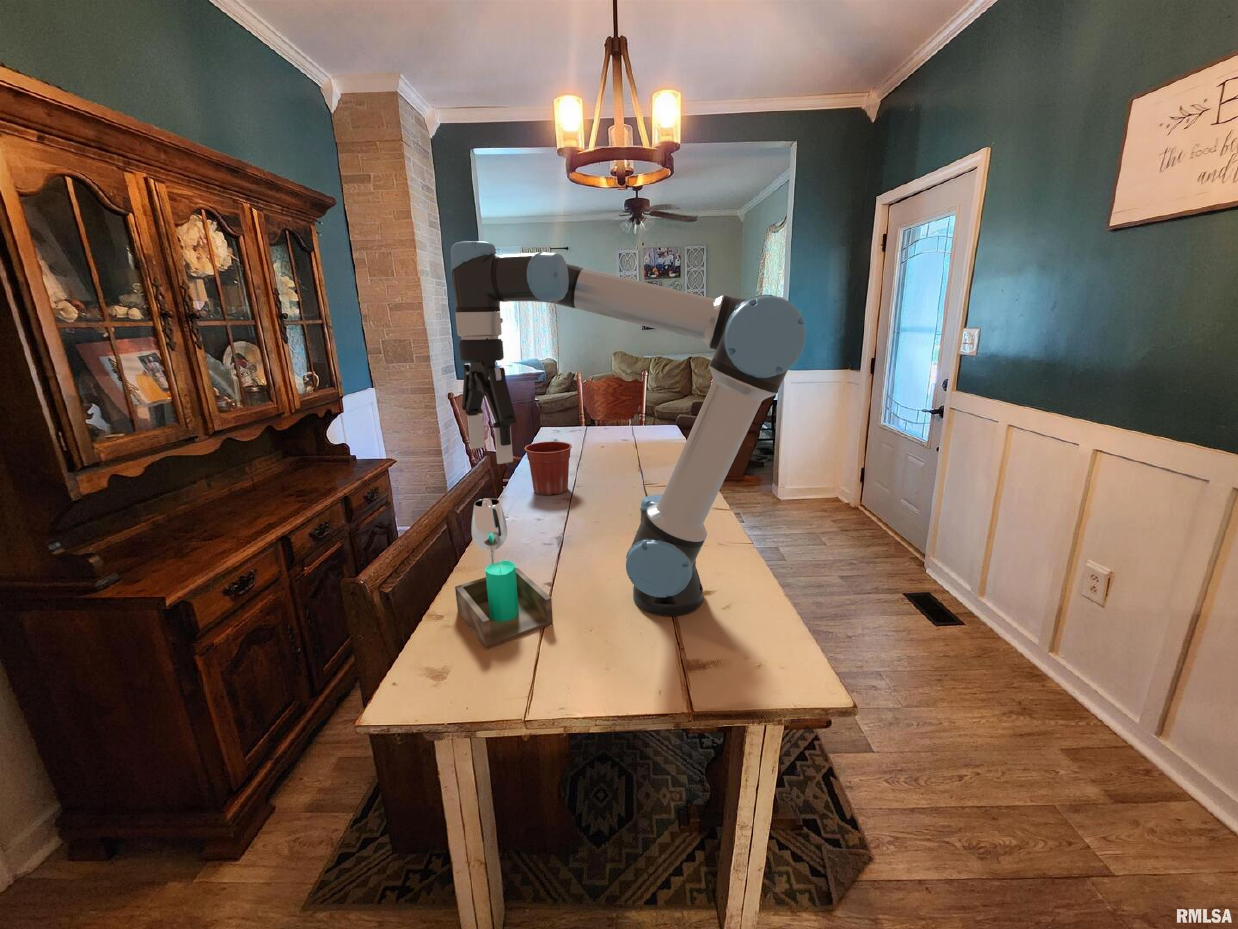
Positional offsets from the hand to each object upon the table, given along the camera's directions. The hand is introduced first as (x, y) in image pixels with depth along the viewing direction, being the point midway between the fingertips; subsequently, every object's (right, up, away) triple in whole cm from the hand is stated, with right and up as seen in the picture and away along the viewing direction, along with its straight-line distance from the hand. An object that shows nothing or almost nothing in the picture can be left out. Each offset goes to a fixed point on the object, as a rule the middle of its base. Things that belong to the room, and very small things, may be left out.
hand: (490, 454), depth 96 cm
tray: (0, -33, +9) cm, 35 cm away
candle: (0, -33, +9) cm, 34 cm away
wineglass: (-5, -30, +23) cm, 38 cm away
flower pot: (0, -11, +88) cm, 88 cm away
